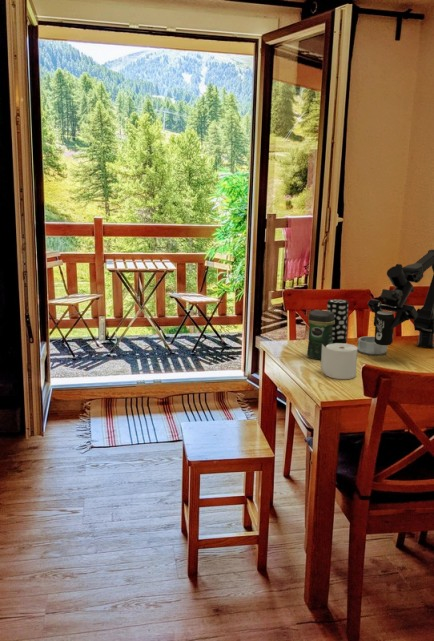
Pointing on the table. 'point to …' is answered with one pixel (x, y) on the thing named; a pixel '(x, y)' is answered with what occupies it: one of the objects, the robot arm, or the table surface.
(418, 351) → the table surface
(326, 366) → the toilet tissue
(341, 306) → the white-spotted black cylinder
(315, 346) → the coffee jar
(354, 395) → the table surface
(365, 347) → the can holder
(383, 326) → the beverage can
